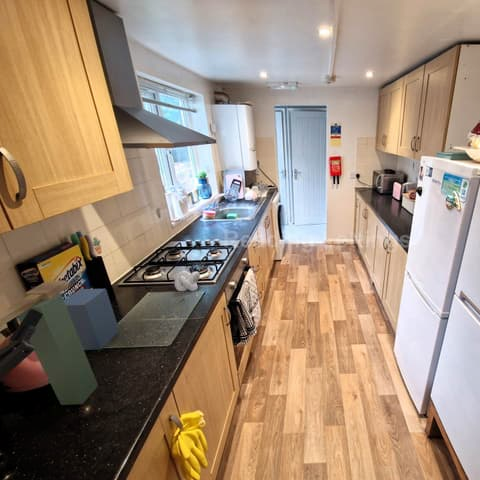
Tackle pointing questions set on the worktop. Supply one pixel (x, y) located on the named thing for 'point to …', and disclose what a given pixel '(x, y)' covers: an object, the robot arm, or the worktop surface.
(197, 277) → the white knot
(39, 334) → the green block
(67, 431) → the worktop surface
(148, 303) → the worktop surface
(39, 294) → the tan slab
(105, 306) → the blue box
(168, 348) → the worktop surface
